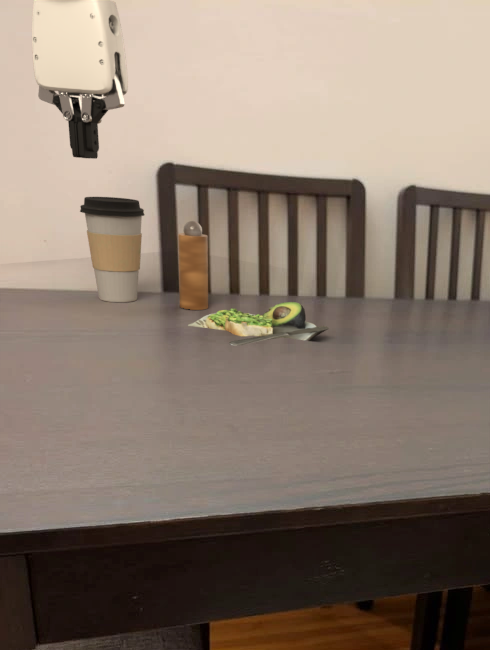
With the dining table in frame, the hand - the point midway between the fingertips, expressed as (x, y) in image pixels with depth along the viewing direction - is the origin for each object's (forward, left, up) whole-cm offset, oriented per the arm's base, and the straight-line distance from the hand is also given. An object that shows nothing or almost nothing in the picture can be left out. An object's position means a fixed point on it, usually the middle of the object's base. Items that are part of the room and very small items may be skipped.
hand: (85, 157), depth 91 cm
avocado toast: (+22, +4, -21) cm, 30 cm away
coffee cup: (-7, +18, -21) cm, 29 cm away
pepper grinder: (+6, +19, -21) cm, 29 cm away
